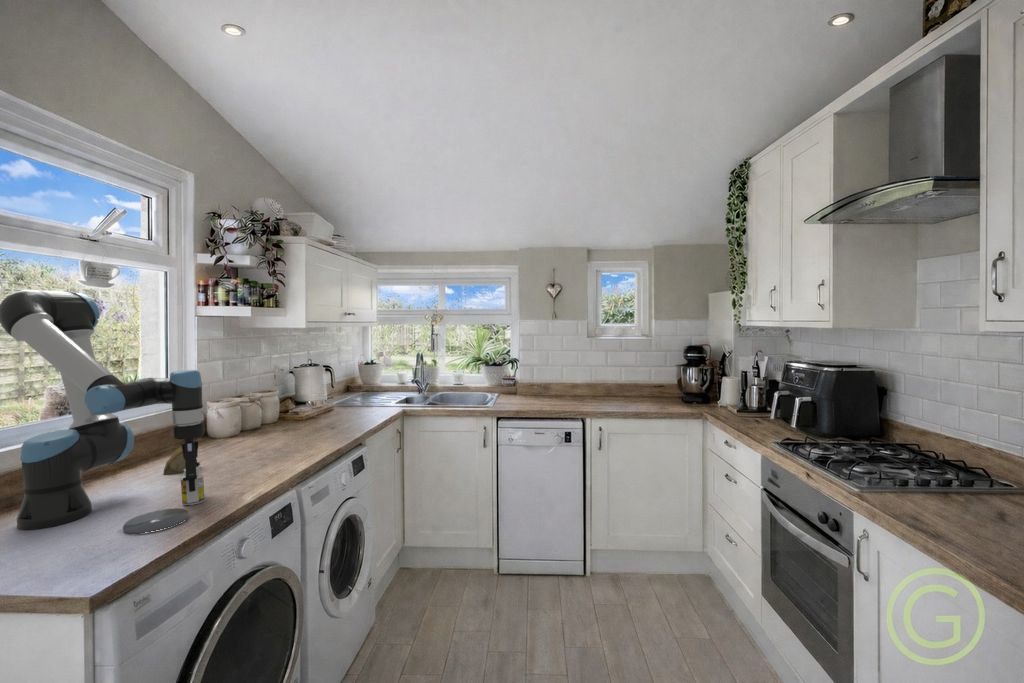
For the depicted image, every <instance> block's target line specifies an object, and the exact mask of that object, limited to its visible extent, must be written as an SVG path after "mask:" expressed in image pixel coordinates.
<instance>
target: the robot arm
mask: <svg viewBox="0 0 1024 683" xmlns="http://www.w3.org/2000/svg"><path fill="white" fill-rule="evenodd" d="M100 314H101V313H100V309H99V307H98V305H97V303H96V302H95V300H94V299H92V298H91V297H90V296H88V295H86V294H84V293H81V292H73V291H70V290H69V291H67V290H66V291H64V290H63V291H61V290H60V291H58V290H57V291H56V290H37V289H22V290H19V291H18V290H17V291H15V292H13V293H10V294H9V295H7V296H6V297H4V299H3V300H2V301H1V303H0V325H1V328H2V329H3V330H4V331H5V332H6V333H7V334H8V335H10V336H11V337H12V338H13V339H14V340H16V341H18V342H24V343H26V344H27V345H28V346H29V347H30V348H31V349H33V350H34V351H35V352H37V353H38V354H39V355H40V356H41V357H42V358H43V359H44V360H46V361H47V362H48V363H49V364H50V365H52V367H54V368H55V369H56V370H58V372H59V373H60V376H61V379H62V384H63V387H64V391H65V394H66V397H67V399H66V400H67V402H68V406H69V409H70V412H71V416H72V420H73V422H72V423H71V424H70V425H69V427H68V428H67V429H59V430H55V431H49V432H46V433H42V434H38V435H34V436H33V437H31V438H29V439H27V440H25V441H24V442H23V443H22V444H21V448H20V449H21V450H20V461H21V471H22V484H23V498H22V502H21V506H20V509H19V511H18V514H17V516H16V527H17V528H18V529H20V530H38V529H39V530H40V529H44V528H49V527H56V526H59V525H64V524H67V523H69V522H74V521H77V520H80V519H82V518H84V517H86V516H88V515H89V514H90V513H92V511H93V506H92V501H91V499H90V498H89V495H88V494H87V492H86V490H85V489H84V486H83V482H82V481H83V480H82V473H84V472H89V471H91V470H95V469H98V468H101V467H104V466H110V465H113V464H115V463H117V462H119V461H121V460H123V459H126V457H127V456H128V455H129V454H130V453H131V451H132V450H133V447H134V444H135V443H134V442H135V439H134V438H135V435H134V432H133V430H132V428H131V427H129V426H128V424H126V423H122V422H120V420H119V416H117V415H116V413H118V412H123V411H126V410H127V411H128V410H132V409H138V408H144V407H148V406H152V405H160V404H161V405H163V404H165V405H166V404H170V405H171V413H172V425H174V426H173V429H172V430H173V438H174V439H175V440H184V442H183V443H181V447H182V451H183V458H184V459H185V468H186V477H185V478H183V481H186V492H187V503H192V502H197V501H199V497H198V481H197V475H196V466H198V467H200V466H201V464H200V461H198V459H197V458H198V455H199V454H198V453H199V451H198V450H199V441H196V438H200V437H202V436H204V435H205V423H204V422H203V421H204V420H205V419H204V415H205V414H206V413H207V412H206V410H204V405H203V382H202V375H201V372H200V371H199V370H196V369H188V370H176V371H172V372H170V374H169V377H158V378H157V377H145V378H138V379H136V380H134V381H126V382H125V381H124V382H123V381H121V380H120V379H119V378H118V377H117V376H115V375H114V374H113V373H112V372H111V371H110V370H109V369H107V367H105V366H103V364H101V362H99V361H98V360H97V359H96V356H95V354H94V349H93V346H92V341H91V337H92V336H93V335H94V333H95V327H97V326H98V323H99V319H100V317H101V316H100ZM190 474H193V475H190Z"/></svg>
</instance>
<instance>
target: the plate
mask: <svg viewBox="0 0 1024 683" xmlns="http://www.w3.org/2000/svg"><path fill="white" fill-rule="evenodd" d="M189 513H190V512H189V510H188V509H185V508H179V507H178V508H167V509H166V508H164V509H159V510H155V511H150V512H147V513H146V512H145V513H143V514H140V515H137V516H135V517H132V518H131V519H128V520H127V521H126V522H125V523H124V524H123V526H122V528H123V532H124V534H126V533H127V535H131V534H139V535H141V534H140V533H145V532H151V531H156V530H160V529H164V528H168V527H171V526H174V525H176V524H179V523H181V522H183V521H184V520H186V519H187V518H188V517H190V514H189ZM188 519H189V518H188ZM188 519H187V520H188ZM187 520H186V521H187ZM183 523H184V522H183ZM181 524H182V523H181ZM179 525H180V524H179Z"/></svg>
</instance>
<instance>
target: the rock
mask: <svg viewBox="0 0 1024 683" xmlns="http://www.w3.org/2000/svg"><path fill="white" fill-rule="evenodd" d="M196 467H199V466H196ZM184 469H186V468H185V459H184V458H183V451H182V446H180V447H178V448H177V449H175V450H174V452H173V454H172V455H171V456H170V458H169V459H168V460H167V461H166V463H165V466H164V468H163V473H162V474H163V475H168V474H169V475H170V474H177V473H184V472H183V471H184Z"/></svg>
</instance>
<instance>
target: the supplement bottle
mask: <svg viewBox="0 0 1024 683" xmlns="http://www.w3.org/2000/svg"><path fill="white" fill-rule="evenodd" d="M200 469H201V468H200V466H198V467H196V475H197V481H198V497H199V501H197V502H192V503H187V492H186V481H183V478H185V477H186V469H184V472H183V475H182V476H181V478H180V488H181V503H182V505H183V506H186V505H190V506H196V505H199V504H201V503H203V502H204V501H205V482H204V480H205V478H204V474H203V473H202V472H201V470H200ZM190 475H193V474H190ZM195 504H196V505H195Z"/></svg>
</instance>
